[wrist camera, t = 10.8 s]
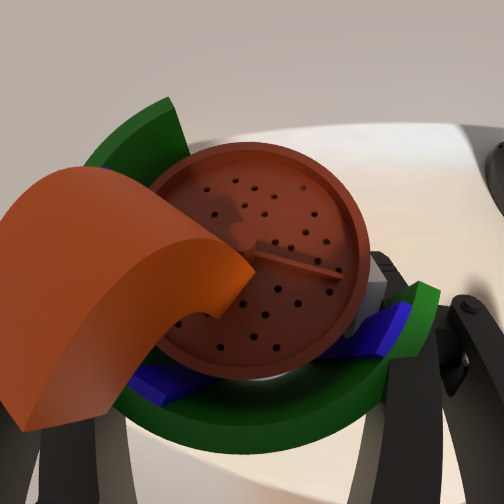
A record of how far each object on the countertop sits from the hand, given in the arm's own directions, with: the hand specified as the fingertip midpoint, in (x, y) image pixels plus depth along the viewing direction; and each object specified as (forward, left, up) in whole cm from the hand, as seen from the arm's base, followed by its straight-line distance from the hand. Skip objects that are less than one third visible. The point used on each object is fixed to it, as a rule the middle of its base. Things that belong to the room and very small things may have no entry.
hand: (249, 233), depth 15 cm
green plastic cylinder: (-1, +4, -8) cm, 9 cm away
